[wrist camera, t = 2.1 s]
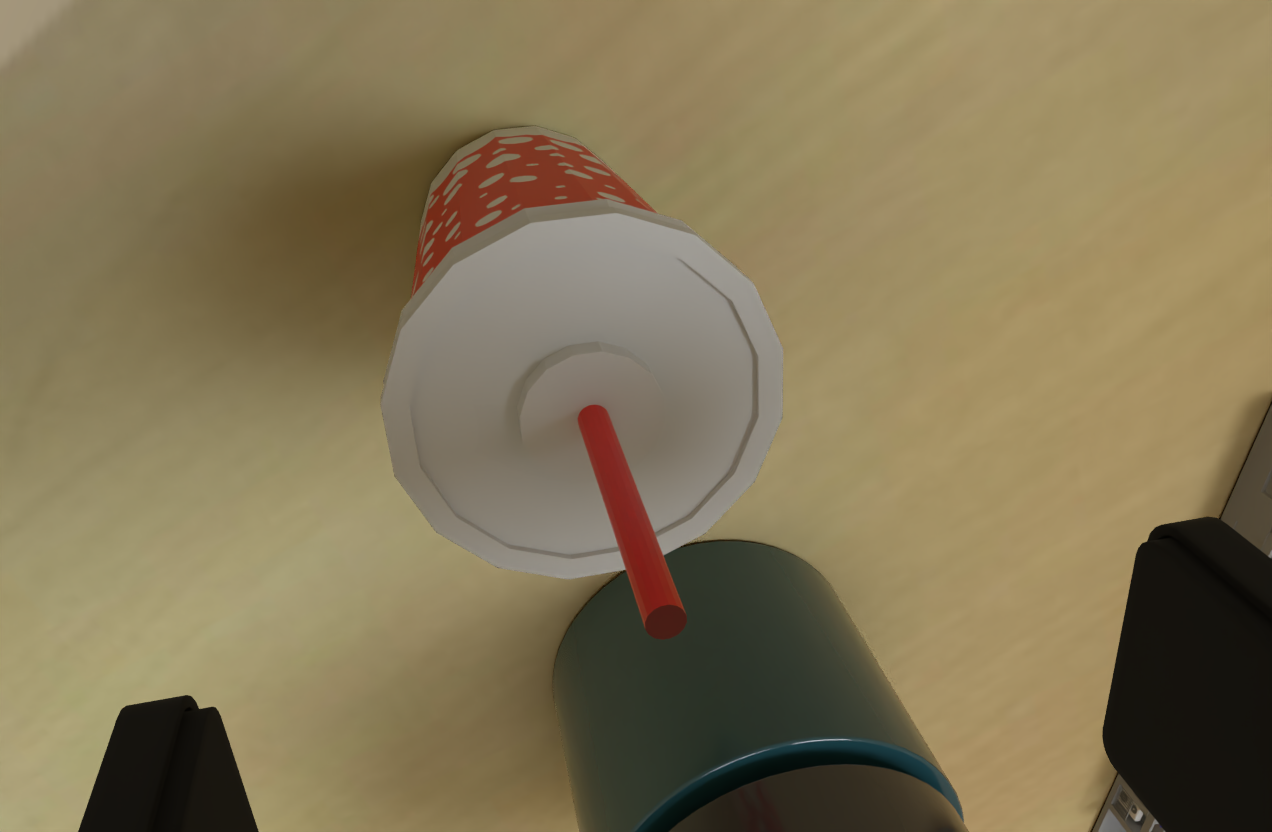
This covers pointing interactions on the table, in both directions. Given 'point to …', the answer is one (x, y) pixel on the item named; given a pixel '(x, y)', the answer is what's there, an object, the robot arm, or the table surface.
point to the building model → (1268, 518)
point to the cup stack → (739, 710)
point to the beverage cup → (574, 371)
